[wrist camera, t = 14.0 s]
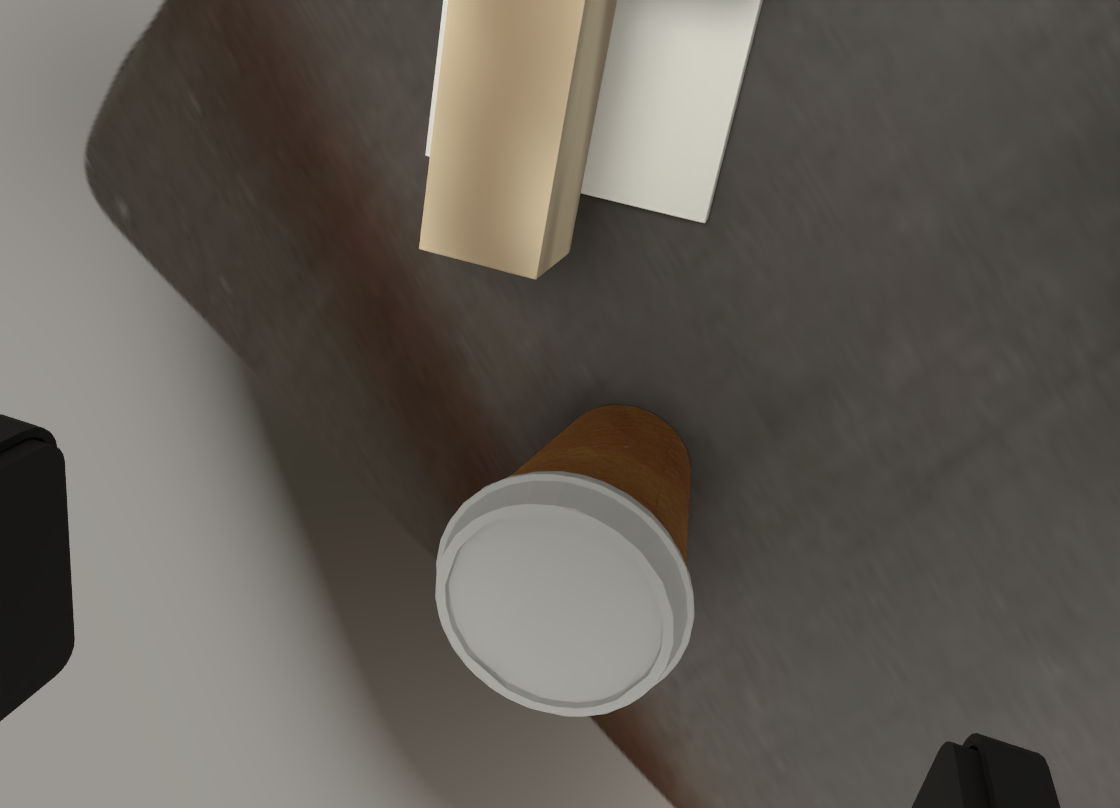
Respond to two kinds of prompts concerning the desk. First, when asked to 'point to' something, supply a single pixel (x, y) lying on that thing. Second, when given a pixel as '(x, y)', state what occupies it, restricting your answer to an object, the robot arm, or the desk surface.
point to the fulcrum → (663, 102)
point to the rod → (513, 129)
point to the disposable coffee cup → (575, 568)
